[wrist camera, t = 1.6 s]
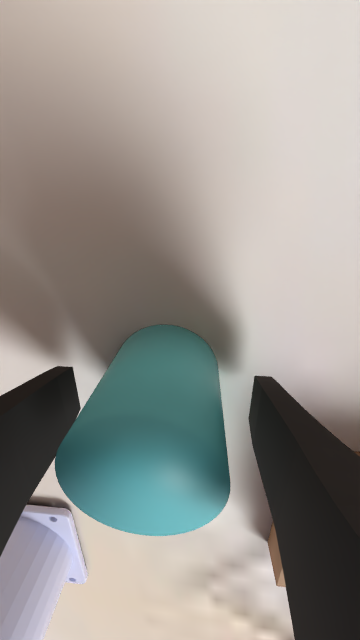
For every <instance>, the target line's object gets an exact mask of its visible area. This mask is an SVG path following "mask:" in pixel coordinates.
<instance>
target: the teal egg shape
mask: <svg viewBox="0 0 360 640" xmlns="http://www.w3.org/2000/svg"><path fill="white" fill-rule="evenodd" d="M55 471H56V476H57V479H58V482H59V484H60V486H61V488H62V490H63V491H64V493H65V494H66V496H67V497H68V498H69V499H70V500H71V501H72V502H73V504H74V505H76V506H77V507H78V508H79V509H80V510H81V511H83V512H84V513H86V514H87V515H88V516H90V517H92V518H93V519H95V520H97V521H99V522H101V523H103V524H105V525H107V526H110V527H112V528H115V529H118V530H121V531H125V532H129V533H134V534H140V535H149V536H167V535H176V534H181V533H186V532H189V531H192V530H195V529H197V528H200V527H202V526H204V525H205V524H207V523H209V522H210V521H212V520H213V519H214V518H215V517H216V516H217V515H218V514H219V513H220V512H221V511H222V510H223V508H224V507H225V505H226V503H227V501H228V498H229V494H230V475H229V466H228V457H227V447H226V438H225V429H224V419H223V410H222V401H221V392H220V382H219V373H218V365H217V361H216V358H215V355H214V353H213V351H212V350H211V348H210V347H209V345H208V344H207V343H206V342H205V341H204V340H203V339H202V338H201V337H199V336H198V335H196V334H195V333H193V332H191V331H189V330H187V329H185V328H182V327H178V326H174V325H154V326H150V327H146V328H143V329H141V330H139V331H137V332H135V333H134V334H132V335H131V336H130V337H129V338H128V339H127V340H126V341H125V342H124V344H123V345H122V347H121V348H120V350H119V352H118V353H117V355H116V356H115V358H114V360H113V361H112V363H111V364H110V366H109V368H108V369H107V371H106V372H105V374H104V376H103V377H102V379H101V380H100V382H99V383H98V385H97V387H96V388H95V390H94V391H93V393H92V395H91V396H90V398H89V399H88V401H87V403H86V404H85V406H84V407H83V409H82V411H81V412H80V414H79V415H78V417H77V419H76V420H75V422H74V423H73V425H72V427H71V428H70V430H69V431H68V433H67V435H66V436H65V438H64V439H63V441H62V443H61V444H60V446H59V448H58V451H57V453H56V458H55Z"/></svg>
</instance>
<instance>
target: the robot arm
mask: <svg viewBox="0 0 360 640" xmlns="http://www.w3.org/2000/svg"><path fill="white" fill-rule="evenodd" d="M79 411H80V403H79V398H78V392H77V387H76V382H75V377H74V372H73V367H63V366H57V367H55V368H53V369H50V370H48V371H46V372H44V373H42V374H41V375H39V376H37V377H35V378H33V379H31V380H29V381H27V382H26V383H24V384H22V385H20V386H18V387H16V388H14V389H13V390H11V391H9V392H7V393H5V394H3V395H1V396H0V640H43V639H44V636H45V634H46V631H47V628H48V626H49V623H50V620H51V618H52V615H53V612H54V610H55V607H56V604H57V602H58V599H59V596H60V594H61V591H62V588H63V586H64V583H65V582H68V583H77V584H84V583H85V582H86V580H87V577H88V573H87V569H86V566H85V562H84V558H83V554H82V551H81V547H80V543H79V539H78V536H77V532H76V528H75V524H74V521H73V517H72V513H71V512H70V511H69V510H68V509H65V508H57V507H47V506H36V505H27V503H28V501H29V499H30V498H31V496H32V494H33V492H34V491H35V489H36V487H37V486H38V484H39V482H40V481H41V479H42V478H43V476H44V474H45V473H46V471H47V469H48V468H49V466H50V465H51V463H52V461H53V460H54V458H55V456H56V453H57V451H58V448H59V446H60V444H61V443H62V441H63V439H64V438H65V436H66V435H67V433H68V431H69V430H70V428H71V427H72V425H73V423H74V422H75V420H76V418H77V415H78V413H79ZM249 424H250V431H251V438H252V444H253V448H254V452H255V456H256V460H257V463H258V467H259V471H260V474H261V478H262V482H263V485H264V489H265V492H266V496H267V500H268V503H269V507H270V511H271V514H272V519H273V523H274V527H275V531H276V536H277V542H278V547H279V552H280V557H281V563H282V568H283V574H284V579H285V585H286V591H287V596H288V602H289V608H290V613H291V619H292V625H293V631H294V637H295V640H360V456H359V455H357V454H356V453H355V452H353V451H352V450H351V449H350V448H348V447H347V446H346V445H345V444H343V443H342V442H341V441H340V440H339V439H338V438H336V437H335V436H334V435H333V434H332V433H331V432H329V431H328V430H327V429H326V428H325V427H324V426H322V425H321V424H320V423H319V422H318V421H317V420H316V419H315V418H314V417H312V416H311V415H310V414H309V413H308V412H307V411H306V410H305V409H304V408H303V407H302V406H301V405H300V404H299V403H298V402H297V401H296V400H295V399H294V398H293V397H292V396H291V395H290V394H289V393H288V392H287V391H286V390H285V389H284V388H283V387H282V386H281V385H280V384H279V383H278V382H277V381H276V380H274V379H273V378H272V377H266V376H255V377H254V385H253V392H252V399H251V406H250V413H249Z"/></svg>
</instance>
